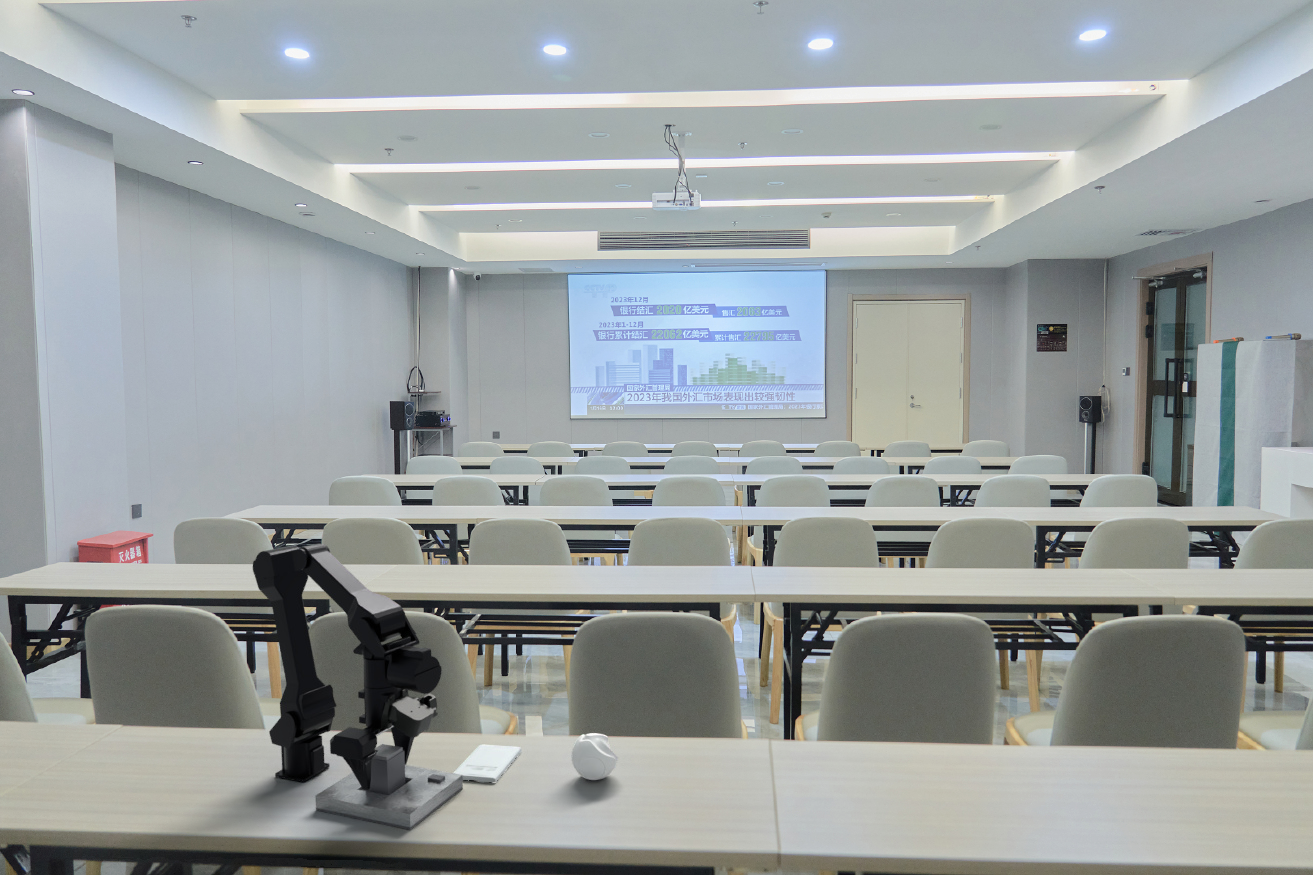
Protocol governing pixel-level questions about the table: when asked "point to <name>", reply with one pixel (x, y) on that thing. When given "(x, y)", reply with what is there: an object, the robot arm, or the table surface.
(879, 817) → the table surface
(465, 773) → the external hard drive
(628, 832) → the table surface
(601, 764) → the motion sensor
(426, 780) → the socket
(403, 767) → the plug
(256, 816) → the table surface
